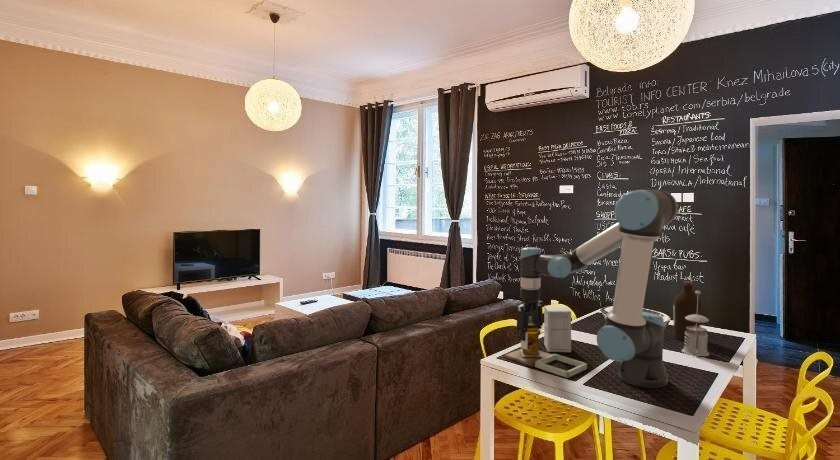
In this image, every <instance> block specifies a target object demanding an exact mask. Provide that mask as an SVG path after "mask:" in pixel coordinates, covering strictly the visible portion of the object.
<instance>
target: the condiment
mask: <svg viewBox="0 0 840 460" xmlns="http://www.w3.org/2000/svg"><path fill="white" fill-rule="evenodd" d="M537 329H538V325H537V323H533V322H532V321H528V326H527V331H526V332H528V349H527V350H526V349H522V348H519V349H518V350H520V352H521V354H522V356H523V357H542V355H541V354H540V352H539V351H540V349H539V347H540V346H539V341H540V340H539V339H540V338H539V337H540V331H539V332H538V330H537ZM538 350H539V351H538Z"/></svg>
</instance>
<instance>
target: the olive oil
mask: <svg viewBox="0 0 840 460" xmlns="http://www.w3.org/2000/svg"><path fill="white" fill-rule="evenodd" d="M697 296H698V294H696V293H695V292H694V291H693V282H692V281H690V280H684V281H683V289H682V290H681V291H680V292H679V293H678V294H677V295H675V296H674V299H673V304H672V306H673V307H672V310H673V338H674V339H676V340H678V341H683V342H685V336H686V337H688V336H687V335H685V331H686V330H687V329H686V327H688V326H695V325H696V322H692V321H688V320H686V319H685V317H686V316H689V315H694V314H698V315H701V314H702V308H703V307H702V305H703V304H702V301H701V299H700V298H699V296H698V313H697ZM701 316H702V315H701ZM700 325H701V323H698V322H697V327H700ZM688 339H689V338H688ZM686 340H687V339H686ZM688 342H689V341H688Z"/></svg>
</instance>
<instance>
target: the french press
mask: <svg viewBox="0 0 840 460" xmlns="http://www.w3.org/2000/svg"><path fill="white" fill-rule="evenodd" d="M694 293H695V294H696V295H697V313H698V297H699V295H701V291H700V290H695V292H694ZM685 319H686V320H688V321H692V322H696V325H695V326H688V327H686V329H687V330H686V331H685V335H687V336H688V337H686V336H685V341H683V342H684V346H683V348H682V349H681V353H683V352H684V353H683V354H685V353H686V354H685V355H687V354H689V355H688V356H690V355H693V356H692V357H695V356H708V355H709V354H710V352H709V351H708V337H709V333H708V332H707V331H708V330H707V328H704V327H702V325H701V323H708V322H709V318H707V317H706V316H704V315H698V314H694V315H689V316H686V317H685ZM697 322H698V323H700V327H697ZM688 338H689V339H688ZM686 339H687V340H686ZM688 341H689V342H688ZM708 357H709V356H708Z"/></svg>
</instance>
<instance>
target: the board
mask: <svg viewBox="0 0 840 460" xmlns="http://www.w3.org/2000/svg"><path fill="white" fill-rule="evenodd" d="M521 349H523V348H521ZM538 351H539V352H540V354H541V355H542V357H523V356H522V354H521V352H520V350H519V349H516V350H514V351H511V352H507V353H505V354H504V358H506V359H509V360H512V361H515V362H518V363H521V364H523V365H526V366H529V367H532V366H533V367H535V361H537V360H540V359H543V358H545V357H548V356H550V355H553V353H550V352H545V351H542V350H540V349H539V350H538Z"/></svg>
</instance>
